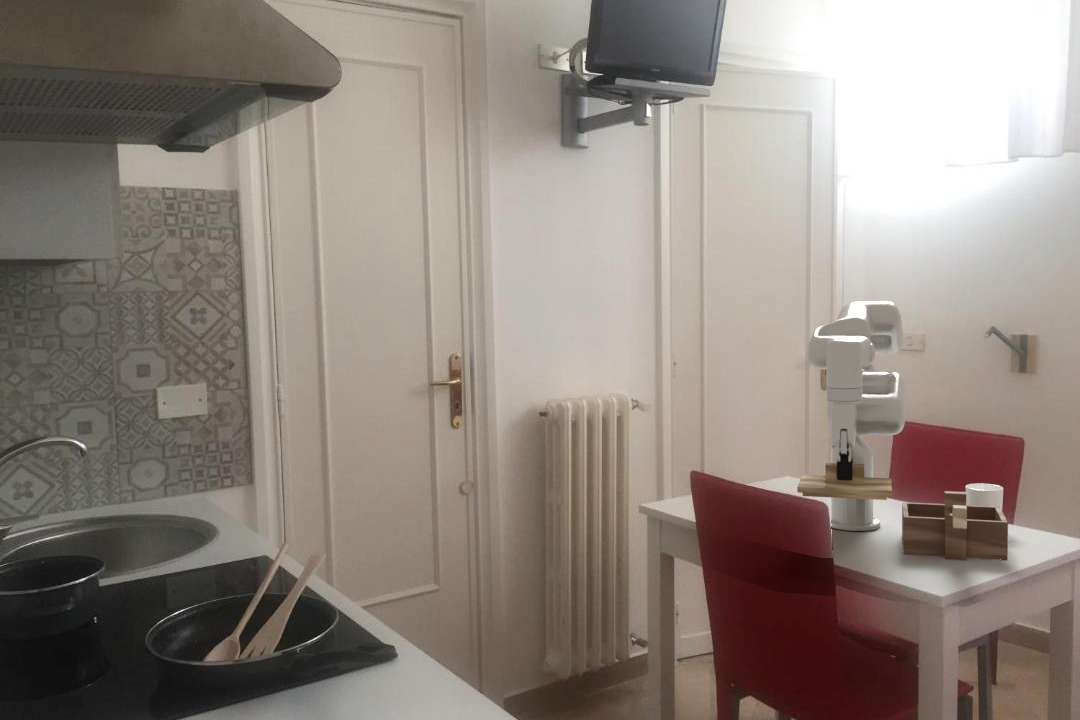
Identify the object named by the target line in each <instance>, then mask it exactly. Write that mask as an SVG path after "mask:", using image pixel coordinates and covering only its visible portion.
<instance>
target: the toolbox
mask: <svg viewBox="0 0 1080 720" xmlns="http://www.w3.org/2000/svg"><path fill="white" fill-rule="evenodd" d="M953 505H961V506H966V507H967V529H964V528H953V518H952V511H953ZM901 513H902V514H901V517H902V518H901V529H902V530H901V534H902V535H901V536H902V537H901V539H902V549H903V554H904V555H916V556H933V557H944V559H945V560H955V561H965V562H966V561H967V559H976V558H979V559H978V560H980V559H981V560H991V559H999V560H998V561H1007V560H1008V557H1009V556H1008V555H1009V554H1008V553H1009V552H1008V549H1009V547H1008V546H1009V545H1008V544H1009V540H1008V539H1009V538H1008V537H1009V523H1008V522H1009V521H1008V520H1007V518H1006V516H1005V514H1004V512H1003V509H1002V510H1001V508H1000V507H995V506H973V505H966V491H953V490H952V491H949V490H945V491H944V503H925V502H924V503H923V502H906V501H905V502H903V501H901ZM1000 559H1001V560H1000Z"/></svg>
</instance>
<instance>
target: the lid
mask: <svg viewBox="0 0 1080 720" xmlns="http://www.w3.org/2000/svg"><path fill="white" fill-rule="evenodd" d="M824 469H825V475H814V474H813V475H812V474H811V475H810V474H809V475H808V474H802V475H801V477H800V479H799V481H798V483H797V484H798V485H797V486H796V487H797V493H801V494H802V497H814V498H815V497H816V498H831V497H832V498H854V499H873V500H877V501H878V500H879V501H880V500H881V501H887V500H888V497H893V489H892V487H893V486H892V478H891V477H890V478H889V477H873V478H868V477H864V464H852V480H838V479H837V463H831V462H825V468H824Z"/></svg>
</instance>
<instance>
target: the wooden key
mask: <svg viewBox="0 0 1080 720" xmlns="http://www.w3.org/2000/svg"><path fill="white" fill-rule="evenodd" d="M952 518H953V528H964V529H967V507H966V506H961V505H953V511H952Z"/></svg>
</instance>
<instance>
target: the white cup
mask: <svg viewBox="0 0 1080 720" xmlns="http://www.w3.org/2000/svg"><path fill="white" fill-rule="evenodd" d="M965 492H966V505H973V506H995V507H1000V508H1001V510H1002V511H1003V503H1004V502H1003V500H1004V499H1003V498H1004V487H1003V486H1001V485H998V484H992V483H983V482H982V483H969V484H966V485H965Z"/></svg>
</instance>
